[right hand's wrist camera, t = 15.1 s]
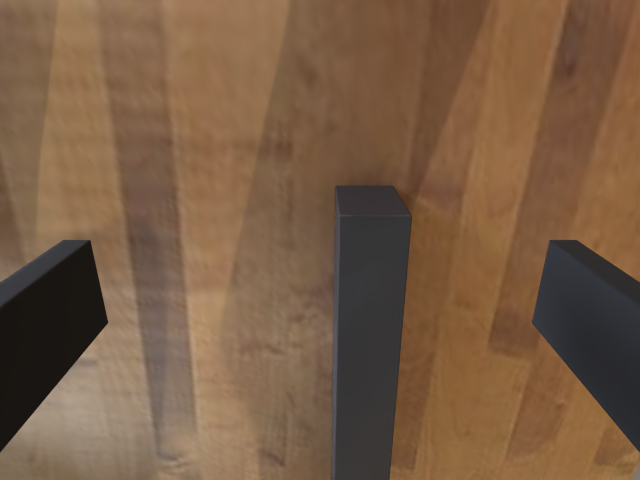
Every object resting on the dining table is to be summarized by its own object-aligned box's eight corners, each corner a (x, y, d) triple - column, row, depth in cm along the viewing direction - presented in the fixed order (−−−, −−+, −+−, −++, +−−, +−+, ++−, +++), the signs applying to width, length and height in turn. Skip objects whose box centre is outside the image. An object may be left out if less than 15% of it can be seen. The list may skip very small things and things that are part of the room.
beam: (335, 185, 37) (339, 215, 29) (393, 185, 37) (412, 215, 29) (331, 485, 50) (333, 557, 43) (373, 485, 50) (383, 557, 43)
